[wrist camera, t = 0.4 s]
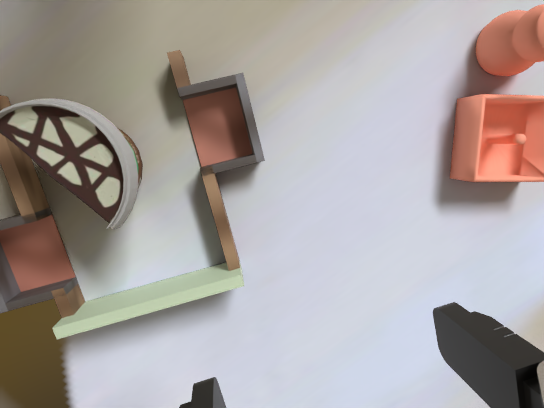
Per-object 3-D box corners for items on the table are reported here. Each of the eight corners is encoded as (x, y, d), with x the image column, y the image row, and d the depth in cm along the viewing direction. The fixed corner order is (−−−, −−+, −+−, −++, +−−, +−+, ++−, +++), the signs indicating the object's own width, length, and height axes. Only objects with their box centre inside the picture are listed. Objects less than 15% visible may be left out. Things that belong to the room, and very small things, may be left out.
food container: (180, 168, 38) (166, 177, 28) (140, 210, 38) (112, 233, 28) (85, 80, 35) (33, 57, 25) (43, 126, 35) (-26, 119, 26)
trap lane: (-62, 112, 34) (-110, 107, 29) (233, 46, 36) (235, 31, 32) (29, 328, 38) (0, 355, 34) (285, 256, 41) (294, 271, 36)
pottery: (520, 177, 44) (604, 188, 34) (448, 178, 42) (515, 188, 33) (540, 19, 41) (639, -19, 31) (464, 14, 39) (542, -27, 30)
